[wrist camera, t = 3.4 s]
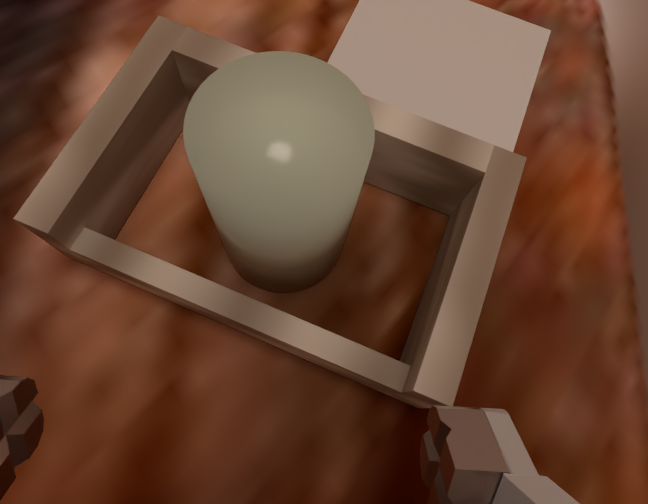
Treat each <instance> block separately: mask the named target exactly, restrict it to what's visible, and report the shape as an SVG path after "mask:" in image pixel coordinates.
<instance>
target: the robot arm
mask: <svg viewBox="0 0 648 504" xmlns="http://www.w3.org/2000/svg"><path fill="white" fill-rule="evenodd" d="M37 394H38V391H37V388H36V384H35V381H34V380H32V379H30V378H26V377H15V376H4V375H0V500H1V499H2V497H3V496H4V494H5V493H6V492H7V490H8V489H9V487H10V486H11V484H12V483H13V481H14V480H15V479H16V474H15V467H16V466H18V465H19V464H21V463H22V462H24V461H26V460H27V459H29V458H30V457H31V455H32V454H33V452H34V451H35V449H36V447H37V446H38V444H39V441H40V438H41V435H42V432H43V423H44V418H43V413H42V409H40V408H39V407H38V406H37V405H36V404H35V403H34V402H33V401H32V400H33V399H34V397H35V396H36V395H37ZM427 421H428V425H429V428H430V430H429V431H427V432H426V433H425V434H424V435H423V438H422V443H421V449H420V464H421V473H422V477H423V482H424V483H425V484H426V485H427V486H428V488H429V489H430V490H431V493H430V497H429V501H428V504H579V503H578V502H577V501H576V500H575V499H573V498H572V497H571V496H570V495H569V494H567V493H566V492H565V491H564V490H563V489H561V488H560V487H559V486H558V485H556V484H555V483H554V482H553V481H552V480H550V479H549V478H548V477H547V476H539V475H538V473H537V471H536V469H535V466H534V464H533V462H532V460H531V458H530V456H529V454H528V452H527V450H526V448H525V446H524V444H523V442H522V440H521V438H520V436H519V434H518V432H517V430H516V428H515V426H514V424H513V422H512V420H511V418H510V416H509V414H508V412H506V411H505V410H504V409H492V408H470V407H454V406H437V405H432V407H431V409H430V410H429V414H428V418H427Z"/></svg>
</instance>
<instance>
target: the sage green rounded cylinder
mask: <svg viewBox="0 0 648 504" xmlns="http://www.w3.org/2000/svg"><path fill="white" fill-rule="evenodd" d="M183 138H184V146H185V150H186V153H187V157H188V159H189V162H190V164H191V167H192V169H193V172H194V174H195V176H196V179H197V181H198V184H199V186H200V189H201V191H202V194H203V196H204V199H205V201H206V204H207V206H208V209H209V211H210V213H211V216H212V218H213V221H214V223H215V226H216V228H217V231H218V233H219V236H220V238H221V241H222V243H223V246H224V248H225V250H226V253H227V255H228V258H229V260H230V262H231V264H232V265H233V267H234V269H235V270H236V271H237V272H238V273H239V275H240V276H242V277H243V278H244V279H245V280H246V281H248V282H249V283H251V284H252V285H254V286H256V287H258V288H260V289H263V290H266V291H271V292H276V293H292V292H297V291H301V290H304V289H307V288H309V287H312V286H314V285H315V284H317V283H319V282H320V281H321V280H323V279H324V278H325V277H326V276H327V275H328V274H329V273H330V272H331V271H332V269H333V268H334V267H335V265H336V263H337V261H338V259H339V257H340V254H341V252H342V248H343V245H344V242H345V239H346V236H347V232H348V229H349V226H350V223H351V220H352V216H353V213H354V210H355V207H356V204H357V200H358V197H359V194H360V191H361V188H362V184H363V181H364V178H365V175H366V172H367V168H368V165H369V162H370V159H371V155H372V152H373V147H374V140H375V129H374V121H373V117H372V113H371V110H370V108H369V105H368V103H367V101H366V99H365V97H364V96H363V94H362V92H361V91H360V90H359V89H358V87H357V86H356V85H355V84H354V82H352V81H351V80H350V79H349V78H348V77H347V76H346V75H345V74H344V73H342V72H341V71H340V70H338V69H337V68H335V67H334V66H332V65H330V64H328V63H326V62H324V61H322V60H320V59H317V58H314V57H311V56H308V55H305V54H300V53H295V52H286V51H269V52H260V53H255V54H251V55H247V56H244V57H241V58H238V59H236V60H234V61H232V62H229V63H227V64H226V65H224V66H222V67H221V68H219V69H217V70H216V71H215V72H214V73H212V74H211V75H210V76H209V77H208V78H207V79H206V80H205V81H204V82H203V83H202V84H201V85H200V86H199V88H198V89H197V91H196V92H195V93H194V95H193V97H192V99H191V101H190V103H189V105H188V108H187V111H186V114H185V119H184V125H183Z"/></svg>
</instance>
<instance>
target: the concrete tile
mask: <svg viewBox="0 0 648 504" xmlns="http://www.w3.org/2000/svg"><path fill="white" fill-rule="evenodd" d="M550 32H551V30H548V29H545V28H542V27H540V26H537V25H534V24H531V23H529V22H526V21H523V20H521V19H518V18H515V17H512V16H510V15H507V14H504V13H501V12H499V11H496V10H493V9H490V8H488V7H485V6H482V5H480V4H477V3H474V2H471V1H469V0H360V1H359V3H358V5H357V7H356V8H355V10H354V12H353V14H352V16H351V18H350V20H349V22H348V24H347V26H346V28H345V30H344V32H343V34H342V35H341V37H340V39H339V41H338V43H337V45H336V47H335V49H334V51H333V53H332V55H331V57H330V59H329V61H328V62H327V63H328V64H330V65H332V66H334V67H335V68H337V69H338V70H340V71H341V72H342V73H344V74H345V75H346V76H347V77H348V78H349V79H350V80H351V81H352V82H354V84H355V85H356V86H357V87H358V89H359V90H360V91H361V92H362V94H363V95H366V96H369V97H371V98H374V99H376V100H379V101H381V102H384V103H387V104H389V105H392V106H394V107H397V108H400V109H402V110H405V111H407V112H410V113H413V114H415V115H418V116H420V117H423V118H425V119H428V120H431V121H433V122H436V123H438V124H441V125H444V126H446V127H449V128H451V129H454V130H457V131H459V132H462V133H464V134H467V135H469V136H472V137H475V138H477V139H480V140H482V141H485V142H488V143H490V144H493V145H495V146H498V147H501V148H503V149H506V150H508V151H511V152H513V151H514V147H515V144H516V141H517V138H518V135H519V131H520V128H521V125H522V122H523V119H524V115H525V112H526V109H527V106H528V103H529V99H530V96H531V93H532V90H533V87H534V83H535V80H536V77H537V74H538V70H539V67H540V64H541V61H542V58H543V54H544V51H545V48H546V45H547V42H548V38H549V35H550Z"/></svg>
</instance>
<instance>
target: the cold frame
mask: <svg viewBox="0 0 648 504" xmlns="http://www.w3.org/2000/svg"><path fill="white" fill-rule="evenodd" d="M251 54H255V52H252V51H250V50H247V49H244V48H242V47H239V46H237V45H234V44H231V43H229V42H226V41H224V40H221V39H218V38H216V37H213V36H211V35H208V34H206V33H203V32H200V31H198V30H195V29H193V28H190V27H187V26H185V25H182V24H180V23H177V22H174V21H172V20H169V19H167V18H164V17H162V16H158V17H157V18H156V20H155V21H154V23H153V24H152V25H151V27H150V28H149V30H148V31H147V32H146V34H145V35H144V37H143V38H142V39H141V41H140V42H139V44H138V45H137V46H136V48H135V49H134V51H133V52H132V53H131V55H130V56H129V58H128V59H127V60H126V62H125V63H124V65H123V66H122V67H121V69H120V70H119V72H118V73H117V74H116V76H115V77H114V79H113V80H112V81H111V83H110V84H109V86H108V87H107V88H106V90H105V91H104V93H103V94H102V95H101V97H100V98H99V100H98V101H97V102H96V104H95V105H94V107H93V108H92V109H91V111H90V112H89V114H88V115H87V116H86V118H85V119H84V121H83V122H82V123H81V125H80V126H79V128H78V129H77V130H76V132H75V133H74V135H73V136H72V137H71V139H70V140H69V141H68V143H67V144H66V146H65V147H64V148H63V150H62V151H61V153H60V154H59V155H58V157H57V158H56V160H55V161H54V162H53V164H52V165H51V167H50V168H49V169H48V171H47V172H46V174H45V175H44V176H43V178H42V179H41V181H40V182H39V183H38V185H37V186H36V188H35V189H34V190H33V192H32V193H31V195H30V196H29V197H28V199H27V200H26V202H25V203H24V204H23V206H22V207H21V209H20V210H19V211H18V213H17V214H16V216H15V217H14V218H13V219H14V220H16V221H17V222H19V223H20V224H22V225H23V226H24V227H26V228H27V229H29V230H30V231H32V232H33V233H34V234H36V235H37V236H39V237H40V238H42V239H43V240H45V241H46V242H47V243H49V244H50V245H52V246H53V247H55V248H56V249H57V250H59V251H60V252H62V253H63V254H65V255H66V256H67V257H69V258H71V259H74V260H76V261H78V262H81V263H83V264H85V265H88V266H90V267H92V268H95V269H97V270H99V271H102V272H104V273H106V274H109V275H111V276H113V277H115V278H118V279H120V280H122V281H125V282H127V283H129V284H132V285H134V286H136V287H139V288H141V289H143V290H146V291H148V292H150V293H153V294H155V295H157V296H159V297H162V298H164V299H166V300H169V301H171V302H173V303H176V304H178V305H180V306H183V307H185V308H187V309H190V310H192V311H194V312H197V313H199V314H201V315H203V316H206V317H208V318H210V319H213V320H215V321H217V322H220V323H222V324H224V325H227V326H229V327H231V328H234V329H236V330H238V331H241V332H243V333H245V334H247V335H250V336H252V337H254V338H257V339H259V340H261V341H264V342H266V343H268V344H271V345H273V346H275V347H278V348H280V349H282V350H285V351H287V352H289V353H291V354H294V355H296V356H298V357H301V358H303V359H305V360H308V361H310V362H312V363H315V364H317V365H319V366H322V367H324V368H326V369H329V370H331V371H333V372H335V373H338V374H340V375H342V376H345V377H347V378H349V379H352V380H354V381H356V382H359V383H361V384H363V385H366V386H368V387H370V388H373V389H375V390H377V391H379V392H382V393H384V394H386V395H389V396H391V397H393V398H396V399H398V400H400V401H403V402H405V403H407V404H410V405H412V406H414V407H417V408H431V407H432V405H437V406H453V403H454V400H455V396H456V393H457V390H458V386H459V383H460V380H461V376H462V373H463V369H464V366H465V363H466V359H467V356H468V353H469V349H470V346H471V343H472V339H473V336H474V333H475V329H476V326H477V323H478V319H479V316H480V313H481V309H482V306H483V302H484V299H485V296H486V292H487V289H488V286H489V282H490V279H491V276H492V272H493V269H494V266H495V262H496V259H497V256H498V252H499V249H500V245H501V242H502V239H503V235H504V232H505V229H506V225H507V222H508V219H509V215H510V212H511V209H512V205H513V202H514V199H515V195H516V192H517V188H518V185H519V182H520V178H521V175H522V172H523V168H524V165H525V162H526V157H524V156H521V155H519V154H516V153H513V152H511V151H508V150H506V149H503V148H501V147H498V146H495V145H493V144H490V143H488V142H485V141H482V140H480V139H477V138H475V137H472V136H469V135H467V134H464V133H462V132H459V131H457V130H454V129H451V128H449V127H446V126H444V125H441V124H438V123H436V122H433V121H431V120H428V119H425V118H423V117H420V116H418V115H415V114H413V113H410V112H407V111H405V110H402V109H400V108H397V107H394V106H392V105H389V104H387V103H384V102H381V101H379V100H376V99H374V98H371V97H369V96H366V95H363V96H364V97H365V99H366V101H367V103H368V105H369V108H370V110H371V113H372V117H373V121H374V129H375V140H374V147H373V152H372V155H371V159H370V162H369V165H368V168H367V172H366V175H365V178H364V181H363V182H366V183H368V184H371V185H373V186H376V187H378V188H381V189H383V190H386V191H388V192H391V193H393V194H396V195H398V196H401V197H403V198H406V199H408V200H411V201H413V202H416V203H418V204H421V205H423V206H426V207H428V208H431V209H433V210H436V211H438V212H441V213H443V214H446V215H448V216H450V218H449V221H448V223H447V226H446V229H445V232H444V235H443V238H442V241H441V244H440V246H439V249H438V252H437V255H436V258H435V261H434V264H433V267H432V269H431V272H430V275H429V278H428V281H427V284H426V287H425V290H424V292H423V295H422V298H421V301H420V304H419V307H418V310H417V313H416V315H415V318H414V321H413V324H412V327H411V330H410V333H409V335H408V338H407V341H406V344H405V347H404V350H403V353H402V356H401V358H400V361H398V360H395V359H393V358H391V357H388V356H386V355H384V354H381V353H379V352H377V351H374V350H372V349H370V348H367V347H365V346H362V345H360V344H358V343H355V342H353V341H351V340H348V339H346V338H344V337H341V336H339V335H337V334H334V333H332V332H330V331H327V330H325V329H323V328H320V327H318V326H315V325H313V324H311V323H308V322H306V321H304V320H301V319H299V318H297V317H294V316H292V315H290V314H287V313H285V312H283V311H280V310H278V309H276V308H273V307H271V306H269V305H266V304H264V303H261V302H259V301H257V300H254V299H252V298H250V297H247V296H245V295H243V294H240V293H238V292H236V291H233V290H231V289H229V288H226V287H224V286H222V285H219V284H217V283H215V282H212V281H210V280H207V279H205V278H203V277H200V276H198V275H196V274H193V273H191V272H189V271H186V270H184V269H182V268H179V267H177V266H175V265H172V264H170V263H168V262H165V261H163V260H160V259H158V258H156V257H153V256H151V255H149V254H146V253H144V252H142V251H139V250H137V249H135V248H132V247H130V246H128V245H125V244H123V243H121V242H118V241H116V240H115V238H116V236H117V235H118V233H119V232H120V230H121V228H122V227H123V225H124V223H125V222H126V220H127V219H128V217H129V215H130V214H131V212H132V211H133V209H134V207H135V206H136V204H137V202H138V201H139V199H140V198H141V196H142V194H143V193H144V191H145V189H146V188H147V186H148V185H149V183H150V181H151V180H152V178H153V177H154V175H155V173H156V172H157V170H158V168H159V167H160V165H161V164H162V162H163V160H164V159H165V157H166V156H167V154H168V152H169V151H170V149H171V147H172V146H173V144H174V143H175V141H176V139H177V138H178V136H179V135H180V133H181V131H182V130H183V125H184V119H185V114H186V111H187V108H188V105H189V103H190V101H191V99H192V97H193V95H194V93H195V92H196V91H197V89H198V88H199V86H200V85H201V84H202V83H203V82H204V81H205V80H206V79H207V78H208V77H209V76H210V75H211V74H212V73H214V72H215V71H216V70H217V69H219V68H221V67H222V66H224V65H226V64H227V63H229V62H232V61H234V60H236V59H238V58H241V57H244V56H247V55H251Z"/></svg>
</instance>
